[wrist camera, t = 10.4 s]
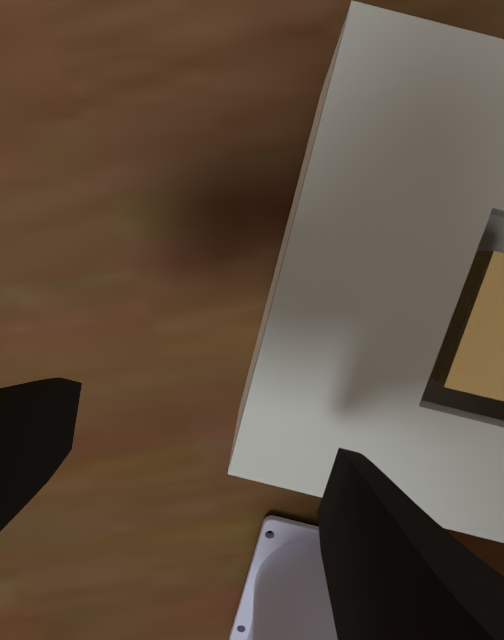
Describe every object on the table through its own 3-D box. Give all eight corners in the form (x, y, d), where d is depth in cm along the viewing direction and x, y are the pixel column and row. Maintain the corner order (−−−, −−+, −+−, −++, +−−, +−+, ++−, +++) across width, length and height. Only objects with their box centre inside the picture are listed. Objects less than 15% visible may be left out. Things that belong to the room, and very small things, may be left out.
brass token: (441, 359, 18) (508, 402, 13) (395, 348, 18) (444, 386, 13) (476, 262, 17) (563, 267, 12) (427, 250, 17) (494, 250, 12)
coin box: (520, 476, 19) (630, 574, 13) (240, 405, 19) (227, 473, 13) (657, 177, 16) (881, 135, 10) (321, 91, 16) (352, 0, 10)
